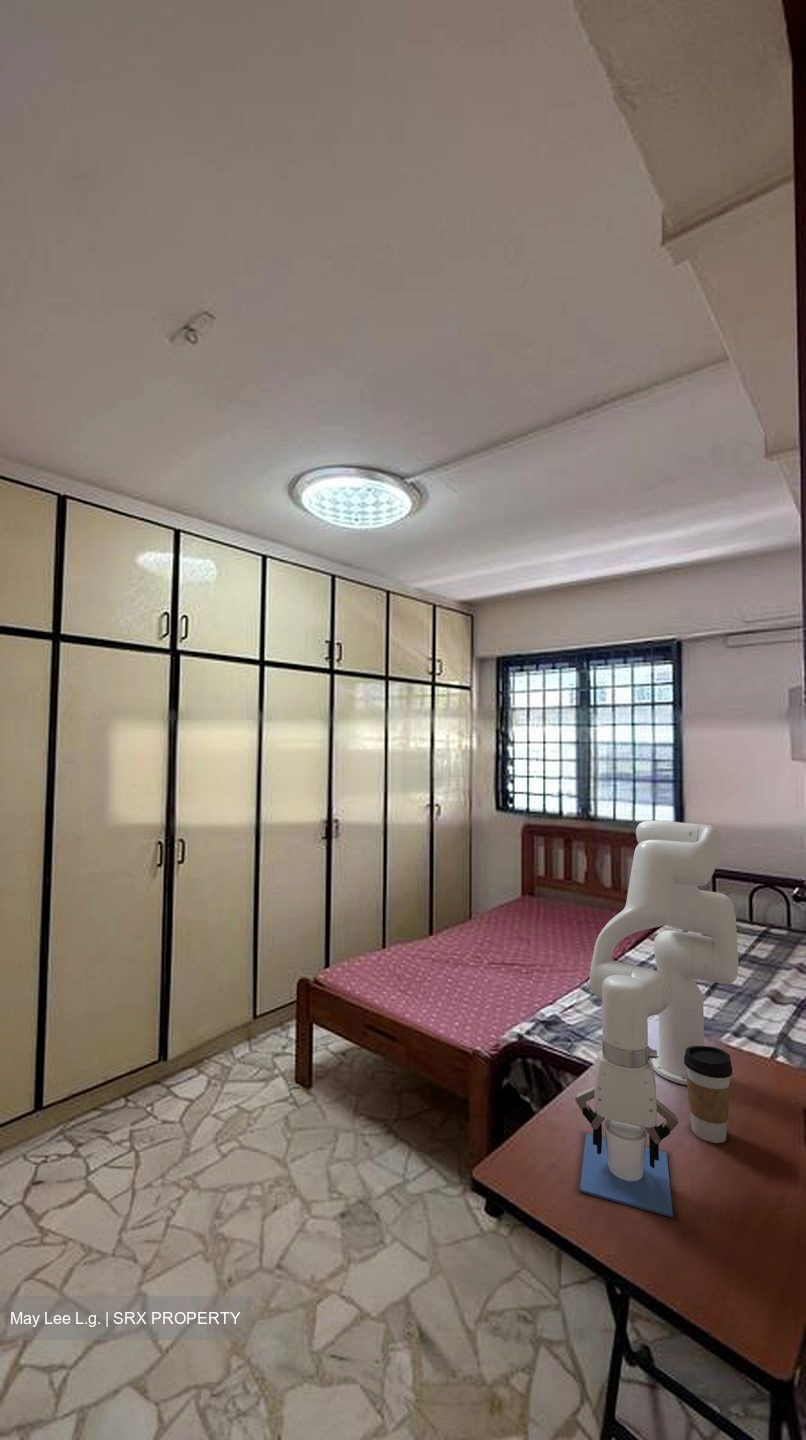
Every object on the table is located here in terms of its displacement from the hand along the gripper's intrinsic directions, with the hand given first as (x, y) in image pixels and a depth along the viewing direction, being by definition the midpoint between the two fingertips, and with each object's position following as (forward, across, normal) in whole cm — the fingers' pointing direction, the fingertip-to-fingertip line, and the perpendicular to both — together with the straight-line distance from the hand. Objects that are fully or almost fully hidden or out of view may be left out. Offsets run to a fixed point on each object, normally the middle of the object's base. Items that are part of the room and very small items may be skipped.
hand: (625, 1155), depth 101 cm
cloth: (+3, 0, 0) cm, 3 cm away
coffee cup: (+3, -15, -18) cm, 24 cm away
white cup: (+3, 0, 0) cm, 3 cm away
